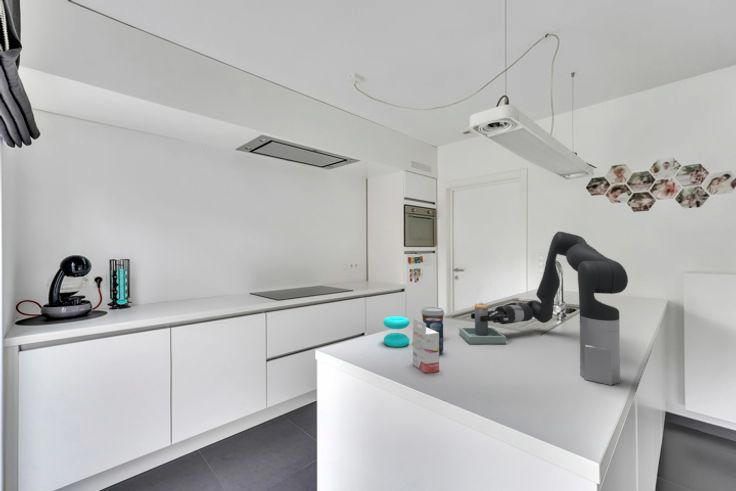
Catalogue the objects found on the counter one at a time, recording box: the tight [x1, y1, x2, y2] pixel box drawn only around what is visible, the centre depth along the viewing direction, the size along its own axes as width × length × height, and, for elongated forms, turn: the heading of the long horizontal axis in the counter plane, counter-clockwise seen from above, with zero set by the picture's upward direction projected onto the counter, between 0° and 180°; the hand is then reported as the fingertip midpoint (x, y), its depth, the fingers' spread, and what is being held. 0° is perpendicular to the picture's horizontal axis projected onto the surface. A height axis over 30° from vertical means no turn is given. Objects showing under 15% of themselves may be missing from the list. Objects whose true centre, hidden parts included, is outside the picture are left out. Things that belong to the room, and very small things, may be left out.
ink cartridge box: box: [412, 318, 440, 374], centre depth 99 cm, size 9×5×15 cm, turn 21°
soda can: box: [424, 317, 444, 356], centre depth 113 cm, size 7×7×12 cm
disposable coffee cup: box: [420, 306, 446, 324], centre depth 131 cm, size 10×10×12 cm
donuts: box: [382, 315, 410, 348], centre depth 123 cm, size 10×10×10 cm
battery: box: [474, 301, 489, 336], centre depth 129 cm, size 5×5×13 cm
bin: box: [458, 327, 507, 346], centre depth 129 cm, size 14×14×3 cm
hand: (476, 317), depth 128 cm, fingers closed on battery, 5 cm apart
